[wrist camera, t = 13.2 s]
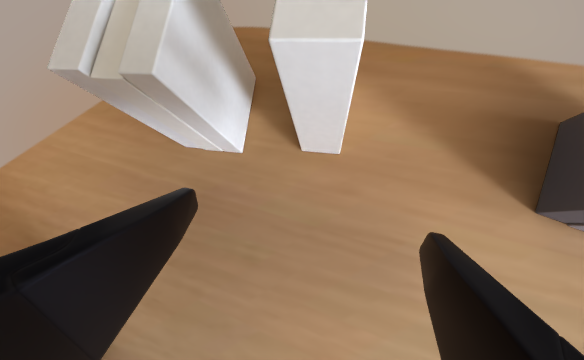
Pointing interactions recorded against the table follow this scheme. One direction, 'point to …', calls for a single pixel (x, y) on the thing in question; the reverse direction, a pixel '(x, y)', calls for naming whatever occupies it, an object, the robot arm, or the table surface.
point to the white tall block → (318, 65)
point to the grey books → (565, 176)
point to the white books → (162, 66)
